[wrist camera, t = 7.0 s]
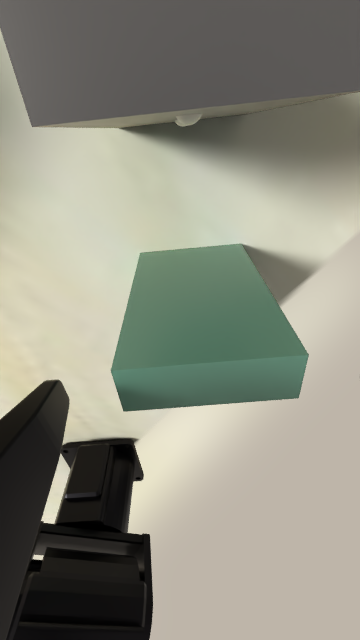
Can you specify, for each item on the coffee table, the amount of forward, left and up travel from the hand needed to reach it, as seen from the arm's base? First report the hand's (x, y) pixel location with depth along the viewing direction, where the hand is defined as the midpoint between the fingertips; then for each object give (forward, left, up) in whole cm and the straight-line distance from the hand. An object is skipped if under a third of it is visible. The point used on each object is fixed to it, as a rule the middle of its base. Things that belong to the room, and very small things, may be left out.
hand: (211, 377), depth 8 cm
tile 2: (+7, 0, -9) cm, 12 cm away
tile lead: (0, 0, -9) cm, 9 cm away
